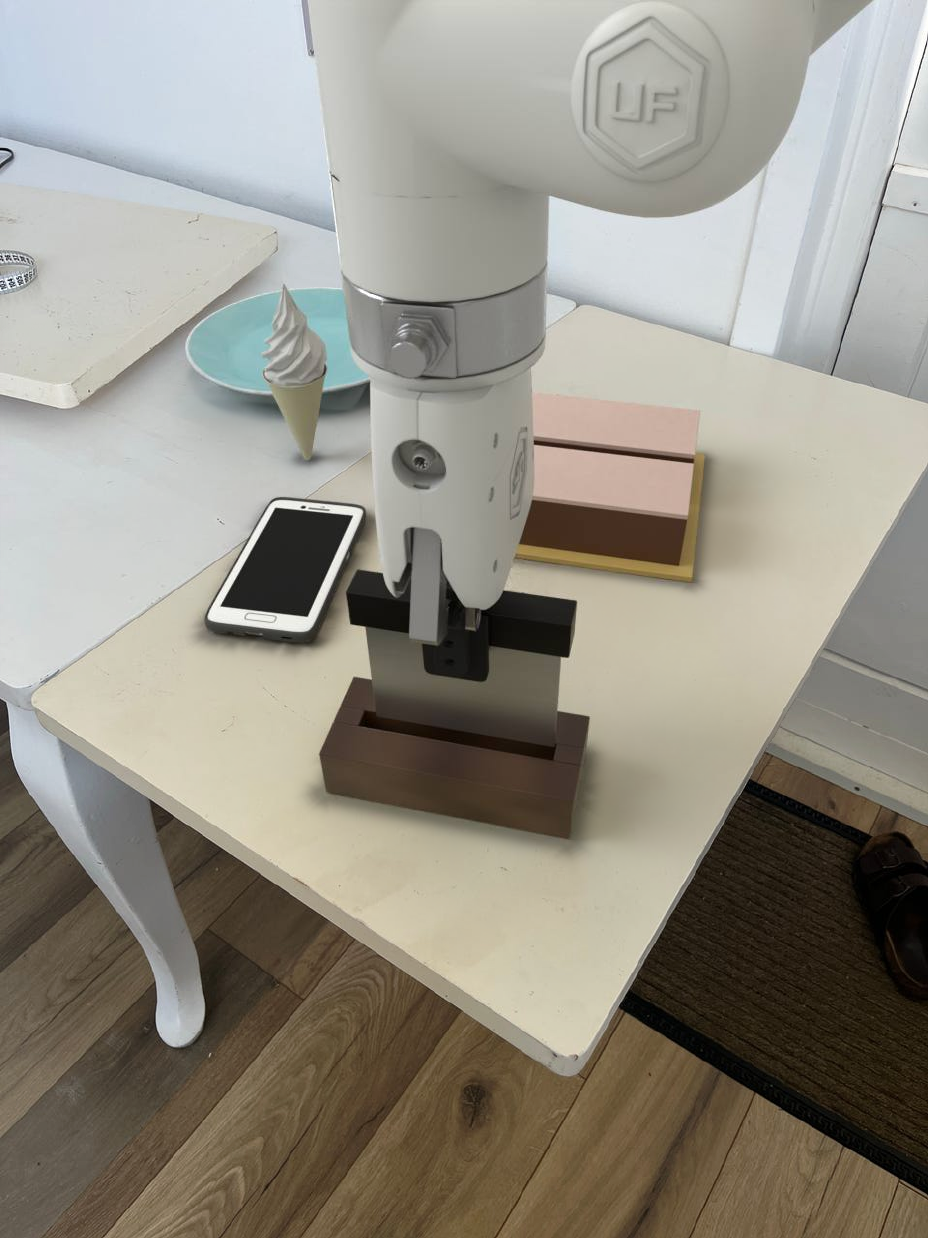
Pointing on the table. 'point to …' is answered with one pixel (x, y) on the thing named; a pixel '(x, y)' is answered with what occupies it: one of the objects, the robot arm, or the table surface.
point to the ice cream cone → (296, 370)
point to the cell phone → (287, 570)
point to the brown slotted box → (455, 767)
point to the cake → (614, 487)
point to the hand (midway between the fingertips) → (463, 654)
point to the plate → (237, 340)
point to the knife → (500, 706)
